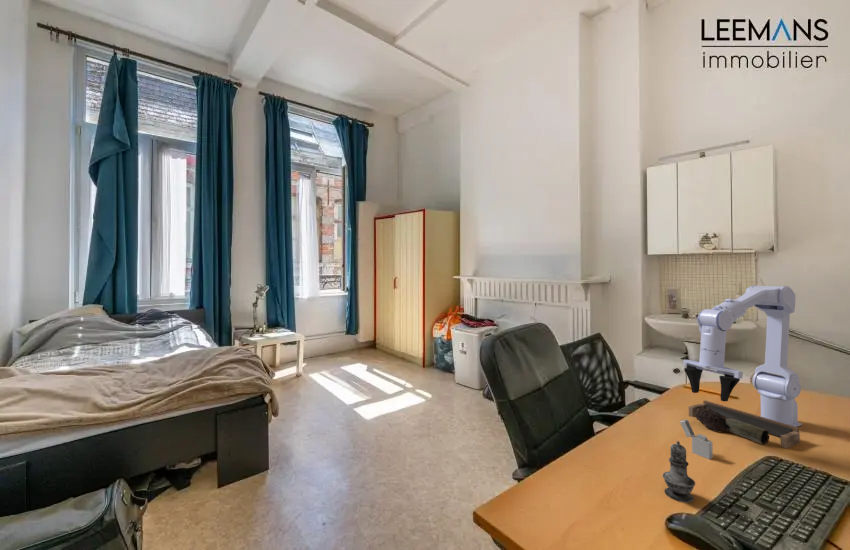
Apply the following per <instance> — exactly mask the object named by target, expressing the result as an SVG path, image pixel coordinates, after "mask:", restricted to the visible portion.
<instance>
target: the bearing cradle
mask: <svg viewBox="0 0 850 550" xmlns="http://www.w3.org/2000/svg"><path fill="white" fill-rule="evenodd" d="M709 408H710V409H712V410H713V411H716V412H718V413H719V414H721V415H723V416H725V417H726V418H731V419H735V420H738V421H741V422H744V423H747V424H750V425H753V426H756V427H759V428H762V429H765V430H767V431H769V435H772V436H776V437H778V438H780V447H781V448H783V449H789V448H791V447H792V448H793V446H796V445H799V444H800V443H801V442H800V441H801V439H800V434H801V433H800V428H799V426H797V427H795V426H791V425H788V424H784V423H781V422H778V421H774V420H771V419H767V418H764V417H761V415H756V414H753V413H750V412H747V411H743V410H739V409H737V408H733V407H729V406H725V405H723V404H719V403H715V402H712V401H709V400H703V403H696V404H694V405H689V406H688V416H689V415H690V417H692V418H693V417H695V414H696V410H697V409H708V410H709Z"/></svg>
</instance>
